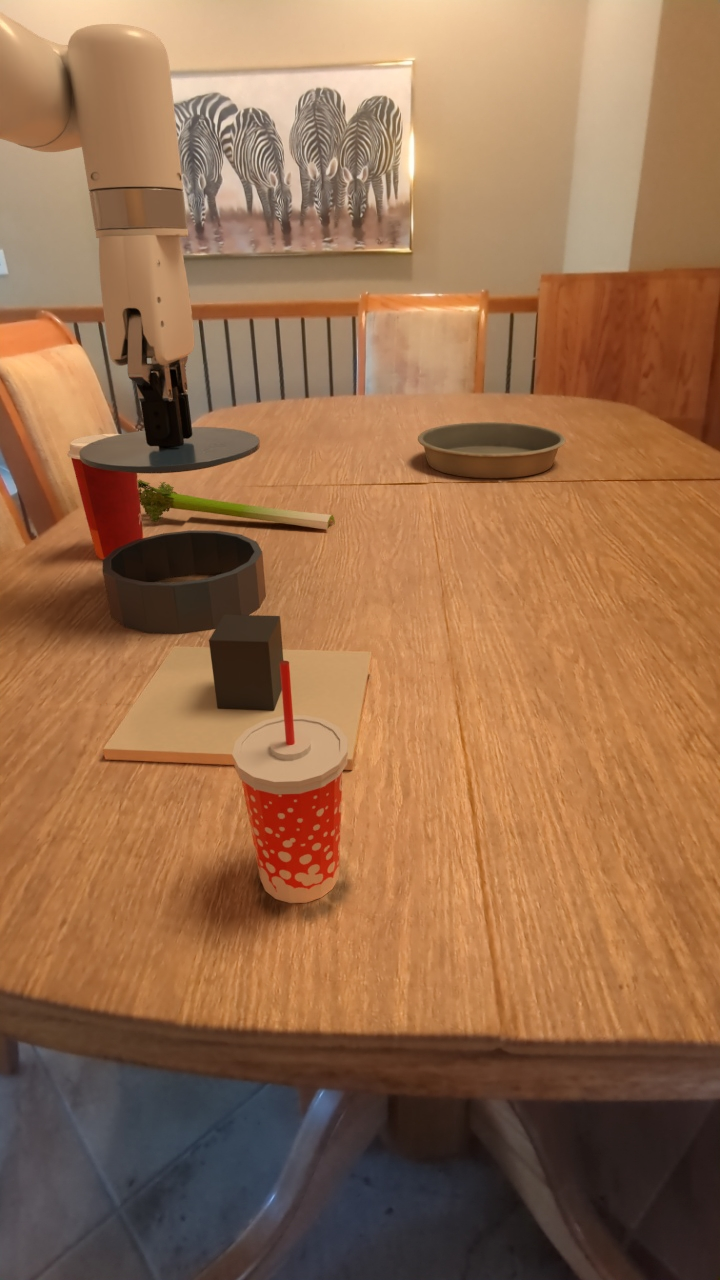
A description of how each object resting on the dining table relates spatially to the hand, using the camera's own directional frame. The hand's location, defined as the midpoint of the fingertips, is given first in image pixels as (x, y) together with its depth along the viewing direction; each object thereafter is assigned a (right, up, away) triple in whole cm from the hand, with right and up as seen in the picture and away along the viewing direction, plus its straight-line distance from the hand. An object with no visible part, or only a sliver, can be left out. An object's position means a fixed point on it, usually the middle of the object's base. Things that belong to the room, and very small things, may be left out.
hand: (170, 439), depth 71 cm
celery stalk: (0, -3, +31) cm, 31 cm away
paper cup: (-11, -9, +21) cm, 26 cm away
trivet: (+9, -24, -10) cm, 28 cm away
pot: (0, -15, +8) cm, 17 cm away
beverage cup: (+14, -33, -27) cm, 45 cm away
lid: (0, -1, 0) cm, 1 cm away
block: (+9, -23, -11) cm, 27 cm away
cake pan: (+40, +11, +58) cm, 72 cm away
